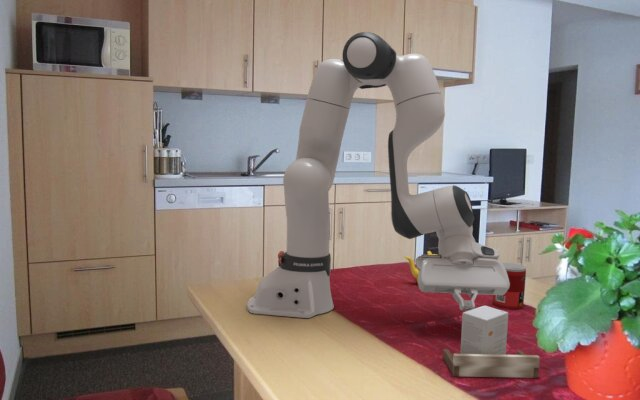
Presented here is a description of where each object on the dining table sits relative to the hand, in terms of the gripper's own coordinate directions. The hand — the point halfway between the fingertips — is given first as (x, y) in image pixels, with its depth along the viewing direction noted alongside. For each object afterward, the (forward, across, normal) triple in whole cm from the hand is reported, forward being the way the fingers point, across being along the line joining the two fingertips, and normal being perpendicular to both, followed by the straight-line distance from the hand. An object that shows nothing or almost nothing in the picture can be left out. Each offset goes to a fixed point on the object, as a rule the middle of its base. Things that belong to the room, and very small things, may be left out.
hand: (467, 309), depth 114 cm
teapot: (-27, +3, +38) cm, 47 cm away
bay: (+15, +1, -4) cm, 15 cm away
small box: (+13, 0, -3) cm, 13 cm away
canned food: (-14, +20, +24) cm, 34 cm away
